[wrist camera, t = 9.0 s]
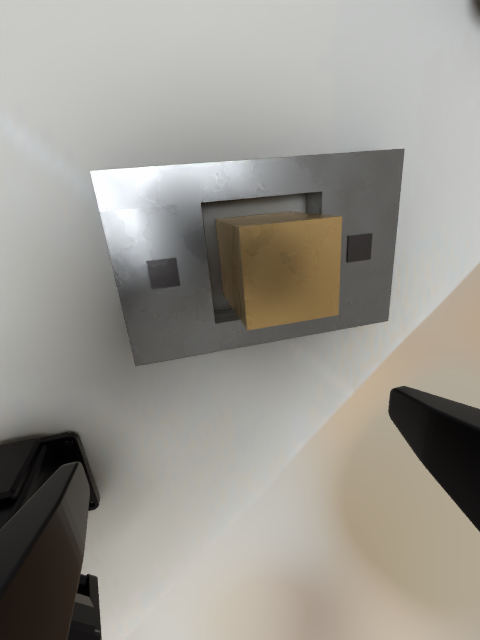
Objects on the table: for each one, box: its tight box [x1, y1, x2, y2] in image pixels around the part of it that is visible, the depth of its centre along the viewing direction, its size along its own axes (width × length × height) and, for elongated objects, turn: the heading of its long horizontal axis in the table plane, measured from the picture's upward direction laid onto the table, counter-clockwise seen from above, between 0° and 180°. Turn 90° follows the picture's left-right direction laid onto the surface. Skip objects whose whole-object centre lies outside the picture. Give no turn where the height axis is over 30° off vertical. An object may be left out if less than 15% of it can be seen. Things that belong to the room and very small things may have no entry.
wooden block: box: [216, 212, 342, 331], centre depth 17 cm, size 4×4×6 cm
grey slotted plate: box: [90, 149, 404, 366], centre depth 18 cm, size 10×16×2 cm, turn 95°
